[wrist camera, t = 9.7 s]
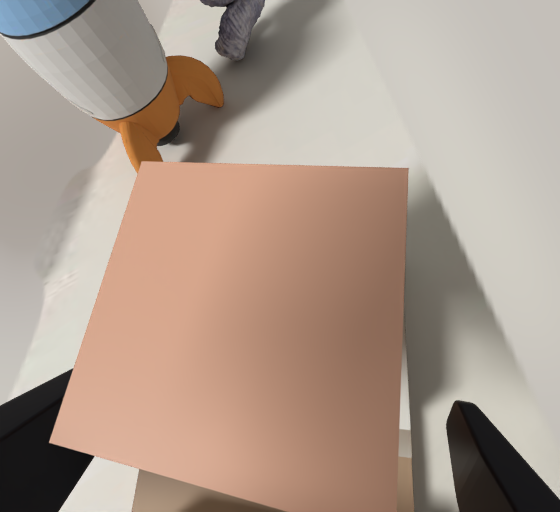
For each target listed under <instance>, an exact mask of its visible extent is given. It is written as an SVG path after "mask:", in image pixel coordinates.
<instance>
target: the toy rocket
mask: <svg viewBox="0 0 560 512" xmlns="http://www.w3.org/2000/svg"><path fill="white" fill-rule="evenodd" d="M0 34H1V36H2V37H3V38H4V39H5V40H6V42H7V43H8V44H9V45H10V46H11V47H12V48H13V49H14V50H15V51H16V53H17V54H19V56H20V57H21V58H22V59H23V60H24V61H25V62H26V63H27V64H28V65H29V66H30V67H32V69H33V70H34V71H35V72H37V73H38V74H39V75H40V76H41V77H42V78H43V79H44V80H46V81H47V82H48V83H49V84H50V85H51V86H53V87H54V88H55V89H56V90H57V91H58V92H59V93H60V94H61V95H62V96H63V97H65V98H66V99H67V100H68V101H69V102H71V103H72V104H73V105H74V106H76V107H77V108H78V109H80V110H81V111H83V112H85V113H87V114H88V115H89V116H91V117H93V118H94V119H96V120H97V121H99V122H101V123H103V124H104V125H106V126H108V127H110V128H112V129H113V130H115V131H117V132H119V133H121V136H122V140H123V144H124V146H125V149H126V152H127V155H128V157H129V159H130V161H131V163H132V165H133V167H134V168H135V170H136V172H137V173H138V171H139V168H140V165H141V162H142V161H148V162H163V160H162V157H161V155H160V153H159V151H158V150H157V146H162V145H166V144H168V143H170V142H171V141H172V140H173V139H174V138H175V137H176V136H177V134H178V132H179V127H180V126H179V123H178V117H179V113H180V107H179V105H181V104H183V102H184V99H185V98H186V97H187V96H190V97H191V98H192V99H194V100H195V101H197V102H201V103H205V104H209V105H212V106H216V107H222V106H223V104H224V102H223V91H222V88H221V85H220V82H219V81H218V79H217V77H216V75H215V74H214V73H213V72H212V71H211V69H210V68H209V67H208V66H206V65H205V64H204V63H202V62H201V61H199V60H196V59H194V58H192V57H187V56H181V55H180V56H168V57H165V52H164V50H163V47H162V45H161V43H160V41H159V39H158V37H157V34H156V32H155V30H154V28H153V26H152V25H151V24H150V23H149V21H148V19H147V17H146V15H145V13H144V11H143V9H142V8H141V6H140V4H139V2H138V0H0Z"/></svg>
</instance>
